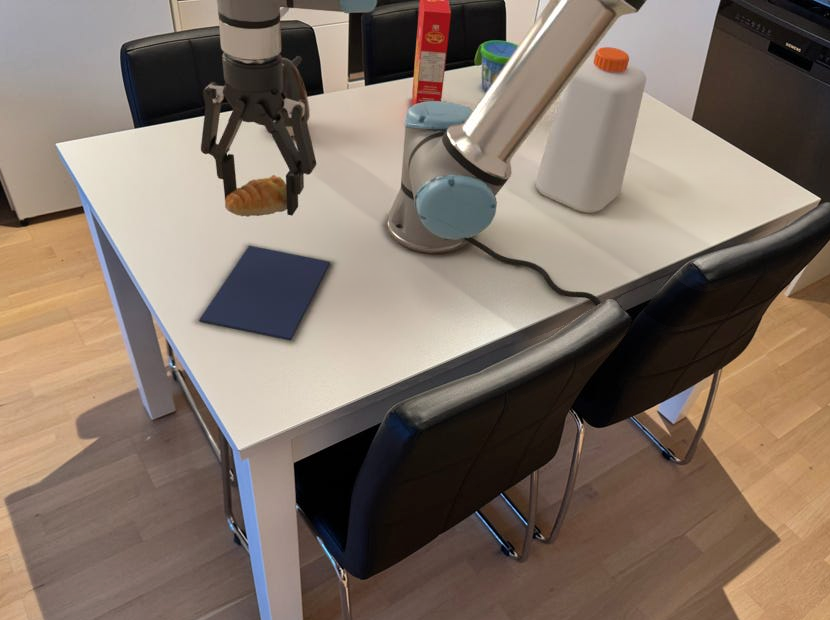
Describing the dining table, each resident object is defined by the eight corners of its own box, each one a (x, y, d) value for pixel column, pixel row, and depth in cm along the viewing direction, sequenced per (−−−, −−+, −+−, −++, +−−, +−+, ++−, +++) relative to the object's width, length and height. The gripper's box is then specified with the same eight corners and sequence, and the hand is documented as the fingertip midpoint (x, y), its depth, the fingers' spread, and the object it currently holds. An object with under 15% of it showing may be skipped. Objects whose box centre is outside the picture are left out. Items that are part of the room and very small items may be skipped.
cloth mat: (329, 263, 124) (329, 261, 123) (290, 340, 109) (290, 338, 109) (249, 247, 124) (249, 245, 124) (199, 321, 110) (199, 319, 109)
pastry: (238, 225, 106) (236, 202, 104) (217, 203, 110) (214, 180, 107) (296, 209, 111) (295, 186, 108) (274, 188, 114) (272, 166, 112)
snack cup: (533, 99, 180) (541, 58, 173) (499, 107, 175) (506, 64, 168) (494, 74, 189) (500, 33, 182) (461, 80, 184) (466, 39, 177)
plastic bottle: (562, 164, 158) (594, 30, 139) (625, 191, 152) (668, 55, 133) (526, 190, 148) (555, 50, 129) (592, 220, 143) (633, 78, 124)
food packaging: (411, 100, 172) (421, -14, 155) (434, 102, 173) (445, -12, 156) (413, 129, 162) (424, 10, 145) (437, 131, 162) (450, 13, 145)
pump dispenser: (320, 131, 157) (320, 59, 146) (287, 148, 150) (284, 74, 139) (283, 115, 160) (281, 43, 150) (249, 131, 153) (244, 57, 143)
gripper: (341, 57, 97) (339, 205, 112) (184, 27, 98) (203, 178, 114) (324, 79, 92) (324, 232, 107) (158, 47, 93) (181, 202, 108)
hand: (262, 204), depth 110 cm, fingers closed on pastry, 9 cm apart
